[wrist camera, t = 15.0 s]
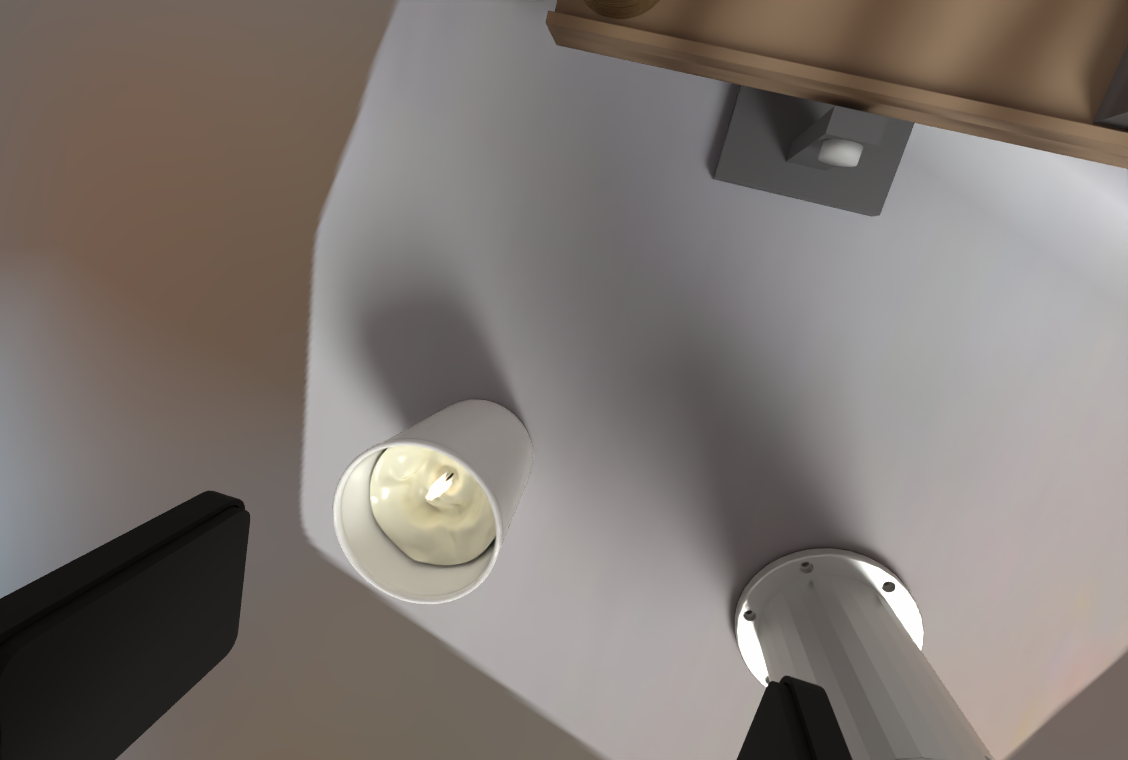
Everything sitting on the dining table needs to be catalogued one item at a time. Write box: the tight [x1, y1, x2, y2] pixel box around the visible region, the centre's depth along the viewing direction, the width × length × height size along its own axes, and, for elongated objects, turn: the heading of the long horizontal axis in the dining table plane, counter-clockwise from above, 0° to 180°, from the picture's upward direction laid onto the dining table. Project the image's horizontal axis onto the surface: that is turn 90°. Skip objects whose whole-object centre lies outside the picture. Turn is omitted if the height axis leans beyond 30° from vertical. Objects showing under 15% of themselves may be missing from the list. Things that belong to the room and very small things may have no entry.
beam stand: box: [713, 85, 914, 216], centre depth 28 cm, size 10×15×9 cm, turn 166°
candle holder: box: [333, 399, 533, 604], centre depth 36 cm, size 10×10×12 cm
